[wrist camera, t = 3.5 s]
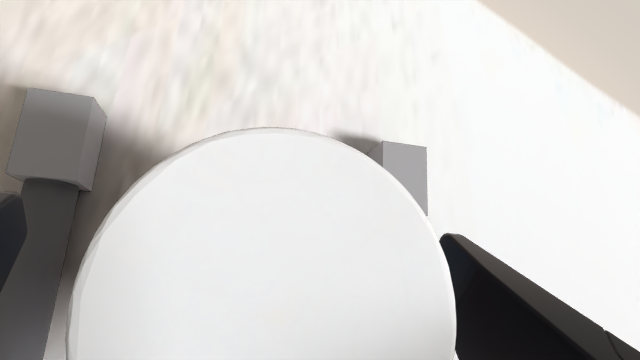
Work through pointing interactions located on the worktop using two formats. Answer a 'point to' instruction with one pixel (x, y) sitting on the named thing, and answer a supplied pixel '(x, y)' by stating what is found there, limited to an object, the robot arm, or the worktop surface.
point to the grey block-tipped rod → (405, 167)
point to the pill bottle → (264, 260)
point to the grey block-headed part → (46, 209)
